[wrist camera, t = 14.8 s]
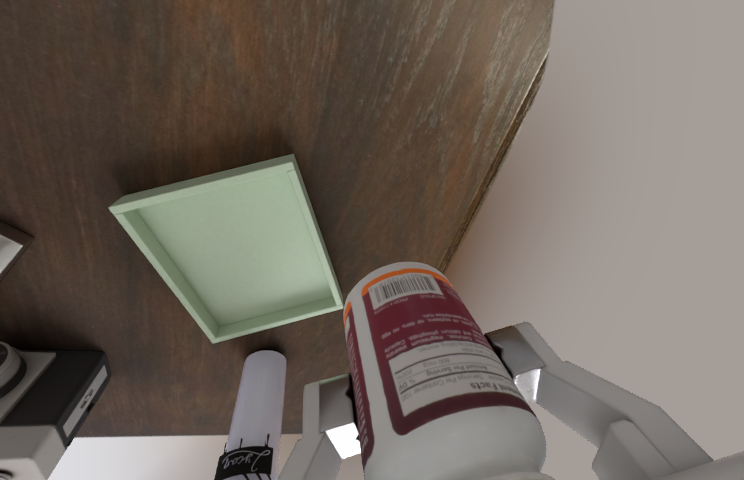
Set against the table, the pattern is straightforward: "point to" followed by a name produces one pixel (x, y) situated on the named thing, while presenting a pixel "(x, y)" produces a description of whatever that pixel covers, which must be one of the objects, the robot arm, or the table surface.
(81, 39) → the table surface
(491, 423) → the pill bottle
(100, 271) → the table surface
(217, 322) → the tray
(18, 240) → the bracket
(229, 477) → the perfume bottle
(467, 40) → the table surface
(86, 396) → the camera
